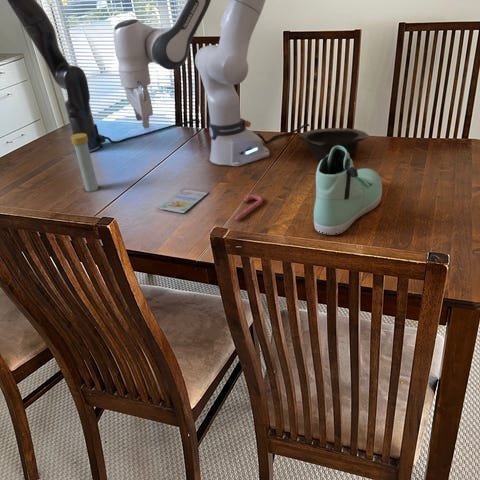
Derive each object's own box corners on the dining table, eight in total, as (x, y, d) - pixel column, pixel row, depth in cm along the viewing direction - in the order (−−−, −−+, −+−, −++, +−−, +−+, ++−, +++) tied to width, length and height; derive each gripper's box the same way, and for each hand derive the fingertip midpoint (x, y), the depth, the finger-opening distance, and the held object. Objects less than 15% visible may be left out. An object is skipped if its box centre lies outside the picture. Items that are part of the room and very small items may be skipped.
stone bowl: (326, 172, 161) (325, 145, 157) (286, 155, 181) (284, 131, 177) (383, 154, 170) (384, 128, 165) (339, 140, 190) (339, 116, 186)
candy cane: (221, 217, 140) (221, 213, 139) (250, 196, 150) (250, 192, 149) (238, 222, 136) (238, 217, 136) (266, 200, 146) (266, 196, 146)
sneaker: (389, 187, 148) (396, 123, 138) (356, 242, 123) (361, 168, 112) (346, 181, 154) (350, 119, 144) (306, 232, 129) (307, 161, 118)
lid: (87, 138, 158) (86, 132, 157) (88, 143, 154) (87, 136, 152) (72, 141, 156) (70, 134, 155) (72, 146, 152) (70, 139, 151)
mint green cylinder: (97, 185, 166) (85, 134, 156) (98, 190, 162) (85, 137, 153) (85, 187, 165) (72, 136, 155) (86, 192, 161) (72, 140, 152)
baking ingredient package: (158, 207, 146) (184, 188, 157) (159, 209, 146) (185, 189, 158) (183, 212, 142) (208, 192, 154) (183, 213, 143) (208, 193, 154)
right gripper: (153, 84, 138) (160, 130, 145) (138, 71, 154) (145, 114, 161) (132, 87, 136) (140, 134, 143) (118, 74, 152) (126, 117, 160)
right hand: (142, 123), depth 152 cm, fingers open, 8 cm apart
